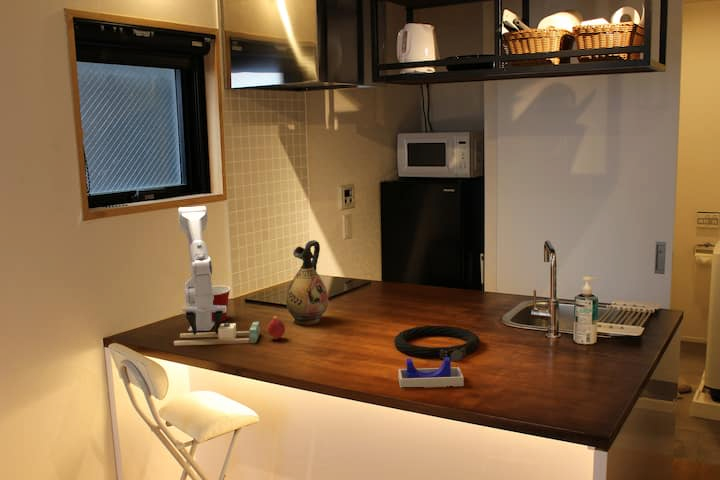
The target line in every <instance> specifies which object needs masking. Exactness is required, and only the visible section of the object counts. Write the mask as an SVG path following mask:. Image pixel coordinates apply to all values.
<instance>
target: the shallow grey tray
mask: <svg viewBox="0 0 720 480" xmlns="http://www.w3.org/2000/svg"><path fill="white" fill-rule="evenodd" d="M439 368H440V367H426V368H425V367H424V368H422V367H421V368H416V369H417V370H419V371H420V372H423V373H432V372H435V371H436V370H438V369H439ZM397 371H398V373H397V375H398V382H399V388H400V389H402V388H401V387H424V388H447V386H448V387H449V386H453V387H464V385H465V384H464V382H465V381H464V376H463V372H462V371H461V369H460V367H459V366H457V367H454V366H453V367H452V366H451V377H446V376H447V375H445V376H444V377H436V378H407V368H398V370H397ZM403 377H404V378H403Z"/></svg>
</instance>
